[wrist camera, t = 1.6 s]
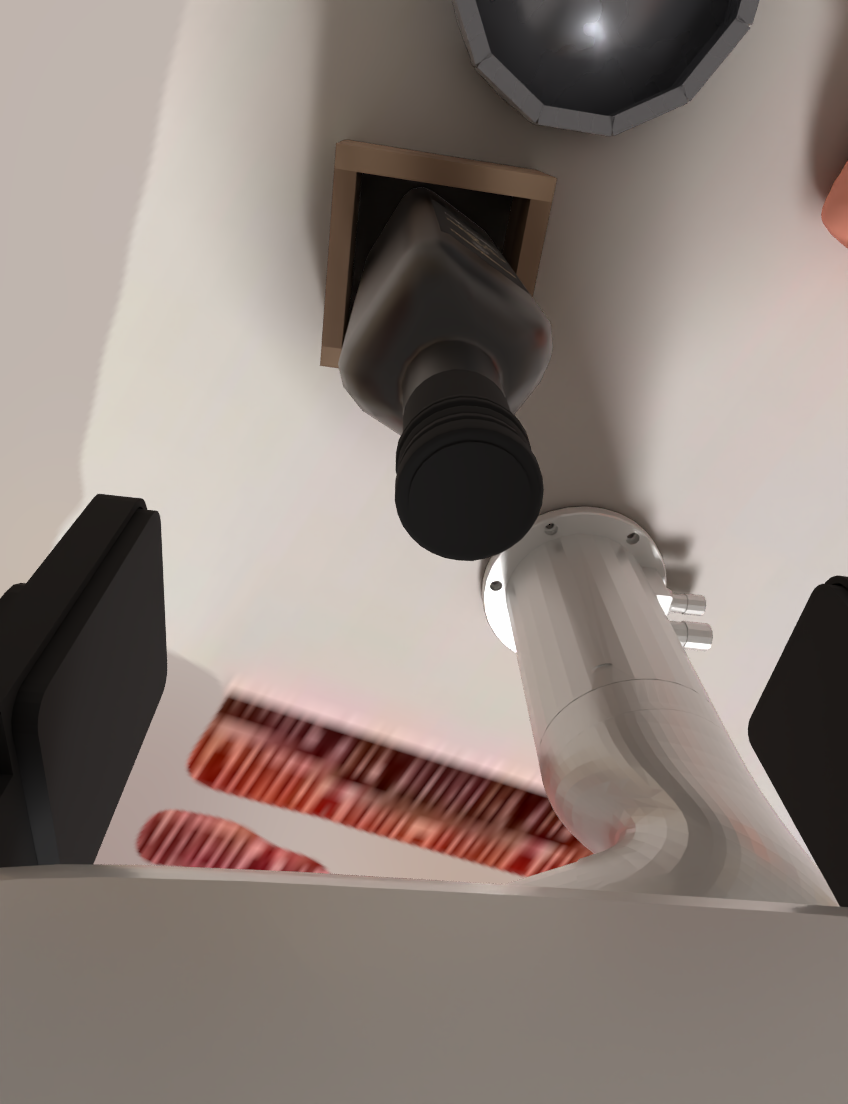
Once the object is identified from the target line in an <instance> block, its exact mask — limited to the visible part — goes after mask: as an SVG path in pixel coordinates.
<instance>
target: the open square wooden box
mask: <svg viewBox="0 0 848 1104" xmlns="http://www.w3.org/2000/svg"><path fill="white" fill-rule="evenodd" d="M362 173H367V174H374V175H380V176H387V177H393V178H399V179H406V180H412V181H419V182H425V183H432V184H438V185H444V186H451V187H457V188H464V189H470V190H476V191H483V192H489V193H496V194H502V195H508V196H513V197H512V203H511V208H510V214H509V219H508V225H507V230H506V236H505V241H504V247H503V252H502V255H503V256H504V258H505V259H506V261H507V262H508V263H509V265H510V266H511V268H512V269H513V271H514V272H515V273H516V275H517V276H518V278H519V279H520V280H521V282H522V283H523V285H524V286H525V287H526V289H527V290H528V292H529V293H530V295H531V296H532V297H533V292H534V287H535V283H536V278H537V273H538V268H539V263H540V258H541V254H542V249H543V244H544V239H545V234H546V229H547V225H548V220H549V215H550V210H551V205H552V201H553V196H554V191H555V186H556V181H557V178H555V177H553V176H550V175H548V174H545V173H543V172H541V171H538V170H534V169H527V168H521V167H515V166H509V165H502V164H496V163H490V162H484V161H477V160H471V159H465V158H459V157H452V156H446V155H440V154H434V153H427V152H421V151H415V150H408V149H402V148H396V147H390V146H383V145H377V144H371V143H365V142H358V141H352V140H346V139H345V140H343V141H340V142H338V143H336V152H335V166H334V180H333V194H332V208H331V222H330V235H329V249H328V263H327V277H326V291H325V305H324V319H323V333H322V347H321V361H320V366H326V367H334V368H339V366H338V362H339V358H340V354H341V351H342V347H343V343H344V339H345V336H346V332H347V328H348V324H349V321H350V320H349V318H350V306H351V295H352V284H353V273H354V261H355V250H356V239H357V227H358V216H359V205H360V194H361V182H362Z"/></svg>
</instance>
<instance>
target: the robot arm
mask: <svg viewBox="0 0 848 1104" xmlns="http://www.w3.org/2000/svg"><path fill="white" fill-rule="evenodd" d="M548 524H552V525H550V526H547V525H548ZM631 533H632V534H631ZM629 534H630V535H629ZM496 580H497V581H496ZM482 599H483V606H484V611H485V614H486V618H487V621H488V623H489V625H490V627H491V629H492V630H493V632H494V634H495V635H496V636H497V637H498V638H499V639H500V640H501V642H502V643H503V644H504V645H505V646H507V647H508V648H509V649H511V650H512V651H513V652H515V653H516V655H517V660H518V665H519V670H520V674H521V679H522V684H523V689H524V694H525V698H526V703H527V708H528V713H529V718H530V722H531V727H532V732H533V737H534V742H535V747H536V751H537V756H538V761H539V767H540V771H541V776H542V781H543V785H544V788H545V791H546V794H547V797H548V799H549V801H550V803H551V805H552V807H553V809H554V811H555V813H556V814H557V816H558V817H559V819H560V820H561V821H562V823H563V824H564V825H565V826H566V828H567V829H568V830H569V831H570V832H571V833H572V834H573V835H574V836H575V837H576V838H577V839H578V840H579V841H580V842H581V843H582V844H583V845H584V846H586V847H587V848H588V849H589V850H590V851H592V852H593V853H594V854H593V855H590V856H588V857H584V858H581V859H579V860H578V862H575V863H572V864H569V865H565V866H562V867H559V868H556V869H552V870H549V871H546V872H543V873H539V874H536V875H533V876H530V877H526V878H523V879H520V880H517V881H514V882H511V883H507V884H490V883H471V882H457V881H439V880H423V879H407V878H389V877H373V876H357V875H356V876H355V875H339V874H324V873H307V872H290V871H267V870H244V869H221V868H199V867H176V866H153V865H93V863H94V861H95V858H96V856H97V854H98V851H99V848H100V846H101V844H102V841H103V839H104V836H105V834H106V831H107V829H108V827H109V824H110V821H111V819H112V816H113V814H114V812H115V809H116V807H117V804H118V802H119V799H120V797H121V795H122V792H123V790H124V787H125V785H126V782H127V780H128V777H129V775H130V772H131V770H132V768H133V765H134V763H135V760H136V758H137V755H138V753H139V750H140V748H141V745H142V743H143V740H144V738H145V736H146V733H147V731H148V728H149V726H150V723H151V720H152V718H153V716H154V714H155V711H156V708H157V706H158V704H159V701H160V699H161V696H162V694H163V691H164V687H165V683H166V676H167V649H166V627H165V605H164V583H163V561H162V539H161V520H160V515H159V513H158V511H153V510H147V507H146V504H145V501H144V500H143V499H141V498H132V497H123V496H114V495H105V494H97V495H96V496H95V497H94V498H93V499H92V501H91V502H90V503H89V504H88V506H87V507H86V508H85V509H84V511H83V512H82V513H81V515H80V516H79V517H78V518H77V520H76V521H75V522H74V523H73V525H72V526H71V527H70V528H69V530H68V531H67V532H66V534H65V535H64V536H63V537H62V539H61V540H60V541H59V542H58V544H57V545H56V546H55V548H54V549H53V550H52V551H51V553H50V554H49V555H48V556H47V558H46V559H45V560H44V562H43V563H42V564H41V565H40V567H39V568H38V569H37V570H36V572H35V573H34V574H33V576H32V577H31V578H30V579H29V580H28V582H27V583H19V584H15V585H13V586H12V587H11V588H10V589H9V590H7V591H6V592H5V593H4V595H3V596H2V597H1V598H0V1104H848V577H845V576H834V577H831V578H830V579H829V580H827V581H826V582H825V584H821V585H818V586H817V587H816V588H815V589H814V590H813V592H812V594H811V596H810V598H809V600H808V602H807V604H806V606H805V608H804V610H803V612H802V614H801V616H800V618H799V620H798V622H797V624H796V626H795V628H794V630H793V632H792V634H791V636H790V638H789V640H788V642H787V644H786V646H785V649H784V651H783V653H782V655H781V657H780V659H779V661H778V663H777V665H776V667H775V669H774V671H773V673H772V675H771V677H770V679H769V681H768V683H767V685H766V687H765V689H764V691H763V693H762V695H761V697H760V699H759V701H758V703H757V705H756V708H755V710H754V712H753V714H752V716H751V718H750V721H749V725H748V736H749V741H750V743H751V746H752V748H753V749H754V751H755V753H756V755H757V757H758V758H759V760H760V762H761V764H762V766H763V768H764V769H765V771H766V773H767V775H768V777H769V778H770V780H771V782H772V784H773V786H774V788H775V789H776V791H777V793H778V795H779V797H780V799H781V800H782V802H783V804H784V806H785V808H786V809H787V811H788V813H789V815H790V817H791V819H792V820H793V822H794V824H795V826H796V828H797V829H798V831H799V833H800V835H801V837H802V839H803V840H804V842H805V844H806V846H807V848H808V849H809V851H810V853H811V855H812V857H813V859H814V860H815V862H816V864H817V866H818V867H817V866H816V864H815V863H814V862H813V861H812V859H811V858H810V857H809V856H808V854H807V853H806V852H805V850H804V849H803V848H802V847H801V845H800V844H799V843H798V841H797V840H796V839H795V838H794V836H793V835H792V834H791V832H790V831H789V830H788V828H787V827H786V826H785V824H784V823H783V822H782V820H781V819H780V818H779V816H778V815H777V813H776V812H775V811H774V809H773V808H772V806H771V805H770V803H769V802H768V800H767V799H766V798H765V796H764V795H763V793H762V792H761V790H760V788H759V787H758V785H757V784H756V782H755V780H754V779H753V777H752V775H751V774H750V772H749V771H748V769H747V767H746V765H745V763H744V762H743V760H742V758H741V756H740V754H739V753H738V751H737V749H736V747H735V746H734V744H733V742H732V740H731V738H730V736H729V734H728V732H727V731H726V729H725V727H724V725H723V723H722V721H721V719H720V717H719V715H718V713H717V711H716V710H715V708H714V706H713V704H712V702H711V700H710V698H709V696H708V694H707V692H706V690H705V689H704V687H703V685H702V683H701V681H700V679H699V677H698V675H697V673H696V671H695V669H694V668H693V666H692V664H691V662H690V660H689V658H688V656H687V654H686V652H685V650H684V649H687V650H697V651H707V650H709V648H710V646H711V644H712V639H713V635H712V629H711V626H710V625H709V624H707V623H698V622H689V621H681V622H676V621H669V620H668V618H667V616H666V615H669V613H670V612H678V613H682V614H688V615H697V616H701V615H703V613H704V612H705V608H706V600H705V597H704V596H702V595H694V594H676V593H672V591H671V589H667V587H666V569H665V565H664V562H663V558H662V555H661V554H660V552H659V550H658V548H657V546H656V544H655V543H654V541H653V540H652V539H651V537H650V536H649V534H648V533H647V532H646V531H645V530H644V529H643V528H642V527H640V526H639V525H638V524H637V523H636V522H635V521H633V520H631V519H629V518H627V517H625V516H624V515H622V514H620V513H616V512H613V511H610V510H607V509H603V508H595V507H568V508H563V509H559V510H554V511H550V512H547V513H545V514H542V515H540V516H538V518H537V519H536V521H535V523H534V524H533V526H532V528H531V529H530V530H529V531H528V533H527V534H526V535H525V536H524V537H523V538H522V539H521V540H520V541H519V542H518V543H516V544H515V545H514V546H512V547H511V548H509V549H507V550H506V551H504V552H502V553H500V554H498V555H495V556H492V557H491V559H490V561H489V563H488V565H487V567H486V570H485V574H484V578H483V583H482Z"/></svg>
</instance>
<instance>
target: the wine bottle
mask: <svg viewBox="0 0 848 1104" xmlns="http://www.w3.org/2000/svg"><path fill="white" fill-rule="evenodd" d="M552 351H553V340H552V330H551V323H550V321H549V320H548V319H547V317H546V316H545V314H544V313H543V311H542V310H541V309H540V307H539V306H538V304H537V303H536V302H535V300H534V299H533V297H532V296H531V295H530V293H529V292H528V290H527V289H526V287H525V286H524V285H523V283H522V282H521V280H520V279H519V278H518V276H517V275H516V273H515V272H514V271H513V269H512V268H511V266H510V265H509V263H508V262H507V261H506V259H505V258H504V256H503V255H502V254H501V252H500V251H499V249H498V248H497V247H496V245H495V244H494V242H493V241H492V240H491V238H490V237H489V236H488V234H487V233H486V232H485V231H484V230H483V229H482V228H481V227H479V226H478V225H477V224H475V223H474V222H473V221H471V220H470V219H469V218H468V217H466V216H465V215H464V214H462V213H461V212H460V211H458V210H457V209H456V208H454V207H453V206H452V205H451V204H449V203H448V202H447V201H445V200H444V199H443V198H441V197H440V196H439V195H437V194H436V193H435V192H434V191H432V190H429V189H427V188H424V187H419V188H414V189H411V190H410V191H409V192H408V193H406V194H405V195H404V196H403V197H402V199H401V201H400V202H399V204H398V206H397V207H396V209H395V211H394V212H393V214H392V215H391V217H390V219H389V220H388V222H387V224H386V225H385V227H384V229H383V230H382V232H381V233H380V235H379V237H378V238H377V240H376V242H375V243H374V245H373V247H372V248H371V250H370V251H369V253H368V255H367V258H366V262H365V265H364V269H363V272H362V276H361V280H360V284H359V287H358V291H357V295H356V298H355V302H354V306H353V310H352V313H351V317H350V321H349V324H348V328H347V332H346V336H345V339H344V343H343V347H342V351H341V354H340V358H339V362H338V366H339V370H340V374H341V379H342V382H343V386H344V388H345V389H346V390H347V392H348V393H349V394H350V395H351V397H352V398H353V399H354V401H355V402H356V403H357V404H358V406H359V407H360V408H361V409H362V411H364V412H365V413H367V414H368V415H370V416H372V417H373V418H375V419H376V420H378V421H379V422H381V423H382V424H384V425H385V426H387V427H389V428H390V429H392V430H393V431H395V432H396V433H398V434H399V435H401V437H400V439H399V442H398V446H397V451H396V474H397V476H396V481H395V504H396V508H397V513H398V516H399V518H400V520H401V523H402V525H403V527H404V528H405V529H406V531H407V532H408V533H409V535H410V536H411V537H412V538H413V539H414V540H415V541H416V542H417V543H418V544H419V545H420V546H421V547H423V548H425V549H426V550H428V551H430V552H432V553H434V554H436V555H439V556H441V557H444V558H448V559H454V560H464V561H474V560H479V559H485V558H488V557H491V556H495V555H498V554H500V553H502V552H504V551H506V550H507V549H509V548H511V547H512V546H514V545H515V544H516V543H518V542H519V541H520V540H521V539H522V538H523V537H524V536H525V535H526V534H527V533H528V531H529V530H530V529H531V528H532V526H533V524H534V523H535V521H536V519H537V518H538V515H539V512H540V509H541V506H542V499H543V491H544V490H543V479H542V475H541V472H540V468H539V465H538V462H537V460H536V457H535V456H534V454H533V453H532V451H531V446H530V443H529V440H528V437H527V434H526V431H525V430H524V428H523V426H522V425H521V423H520V421H519V420H518V419H517V418H516V417H515V416H514V414H515V413H516V412H517V410H518V409H519V408H520V407H521V405H522V404H523V403H524V402H525V400H526V399H527V398H528V397H529V395H530V394H531V393H532V392H533V390H534V389H535V388H536V387H537V385H538V384H539V383H540V381H541V379H542V377H543V375H544V372H545V370H546V368H547V366H548V363H549V361H550V358H551V354H552Z"/></svg>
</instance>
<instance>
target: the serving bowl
mask: <svg viewBox="0 0 848 1104" xmlns="http://www.w3.org/2000/svg"><path fill="white" fill-rule="evenodd" d="M452 1H453V6H454V10H455V14H456V18H457V22H458V26H459V29H460V31H461V34H462V37H463V39H464V42H465V45H466V47H467V49H468V52H469V55H470V58H471V62H472V65H473V66H475V65H476V66H477V67H476V68H475V70H476V71H477V72H478V73H479V74H480V75H481V76H482V77H483V78H484V79H485V80H486V81H487V82H488V83H489V85H490V86H491V87H492V88H493V89H494V90H495V91H496V92H497V93H498V94H499V96H500V97H501V98H503V99H504V100H505V101H506V102H507V103H509V104H510V105H511V106H512V107H513V108H515V109H516V110H518V111H519V112H520V113H521V114H522V115H523V116H524V117H525V118H526V119H527V120H528V121H529V122H530V123H533V124H536V125H542V126H548V127H555V128H561V129H565V130H573V131H579V132H585V133H591V134H597V135H603V136H614V135H617V134H619V133H621V132H624V131H626V130H628V129H630V128H633V127H635V126H637V125H639V124H642V123H644V122H646V121H648V120H651V119H653V118H655V117H658V116H660V115H662V114H664V113H667V112H669V111H671V110H673V109H676V108H678V107H680V106H682V105H685V104H687V101H691V100H692V98H693V97H694V96H695V95H696V94H697V92H698V91H699V90H700V89H701V87H702V86H703V85H704V84H705V83H706V81H707V80H708V79H709V78H710V76H711V75H712V74H713V73H714V72H715V70H716V69H717V68H718V67H719V65H720V64H721V63H722V62H723V61H724V59H725V58H726V57H727V56H728V54H729V53H730V52H731V51H732V50H733V48H734V47H735V46H736V45H737V43H738V42H739V41H740V40H741V39H742V37H743V36H744V35H745V34H746V33H747V31H748V30H749V29H750V27H749V26H748V25H752V23H753V20H754V16H755V13H756V10H757V6H758V3H759V0H452Z"/></svg>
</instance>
